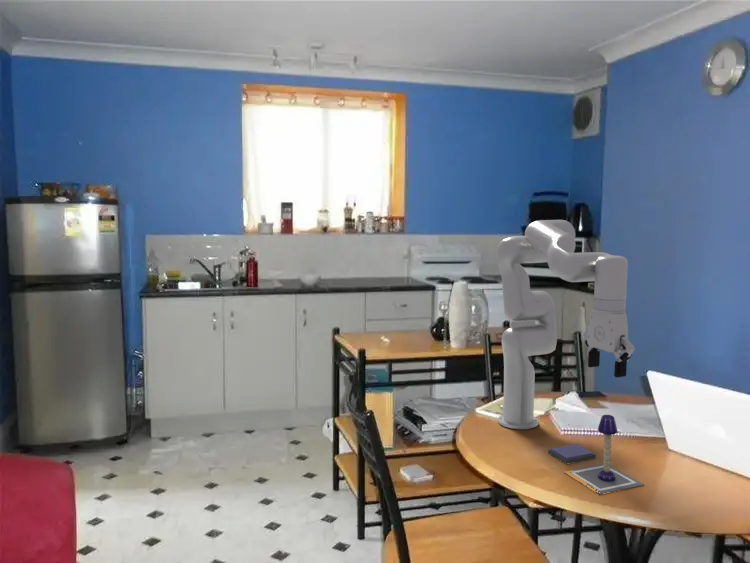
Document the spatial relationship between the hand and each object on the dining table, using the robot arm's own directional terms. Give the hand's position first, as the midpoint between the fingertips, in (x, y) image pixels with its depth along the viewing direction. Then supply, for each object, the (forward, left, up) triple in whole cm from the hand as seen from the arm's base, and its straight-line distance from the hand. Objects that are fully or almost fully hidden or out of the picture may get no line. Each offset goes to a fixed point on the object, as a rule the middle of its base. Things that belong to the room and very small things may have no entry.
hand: (606, 371), depth 163 cm
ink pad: (-14, +2, -28) cm, 32 cm away
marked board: (+1, 0, -28) cm, 28 cm away
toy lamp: (+1, 0, -28) cm, 28 cm away
